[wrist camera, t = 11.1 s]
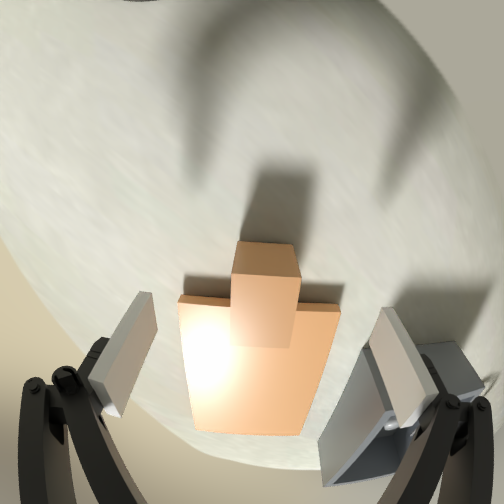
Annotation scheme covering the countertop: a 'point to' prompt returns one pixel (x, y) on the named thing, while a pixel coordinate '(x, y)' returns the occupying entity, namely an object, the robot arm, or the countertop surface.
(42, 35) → the countertop surface
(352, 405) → the tub
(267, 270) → the lid
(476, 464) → the robot arm
